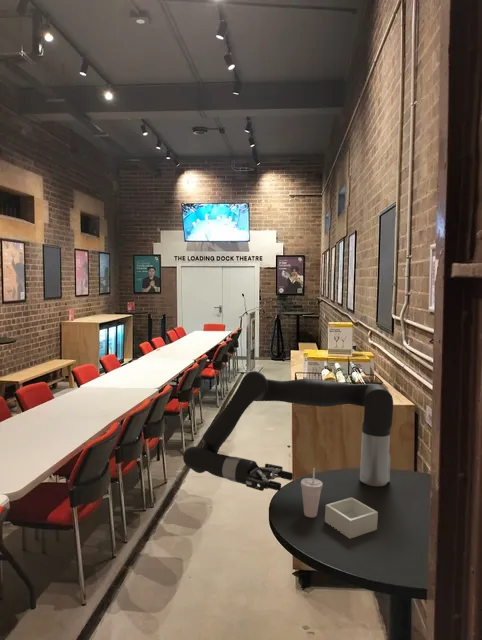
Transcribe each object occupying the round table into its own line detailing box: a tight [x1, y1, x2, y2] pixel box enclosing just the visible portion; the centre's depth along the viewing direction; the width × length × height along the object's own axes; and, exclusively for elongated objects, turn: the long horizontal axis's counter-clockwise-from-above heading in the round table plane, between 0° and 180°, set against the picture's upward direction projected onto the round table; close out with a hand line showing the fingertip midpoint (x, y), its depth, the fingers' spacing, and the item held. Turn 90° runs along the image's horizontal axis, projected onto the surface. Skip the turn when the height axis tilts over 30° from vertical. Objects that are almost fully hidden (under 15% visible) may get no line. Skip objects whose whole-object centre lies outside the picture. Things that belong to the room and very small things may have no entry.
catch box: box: [324, 497, 379, 539], centre depth 132 cm, size 10×10×5 cm
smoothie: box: [300, 467, 324, 518], centre depth 138 cm, size 6×6×14 cm
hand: (286, 481), depth 142 cm, fingers open, 8 cm apart
